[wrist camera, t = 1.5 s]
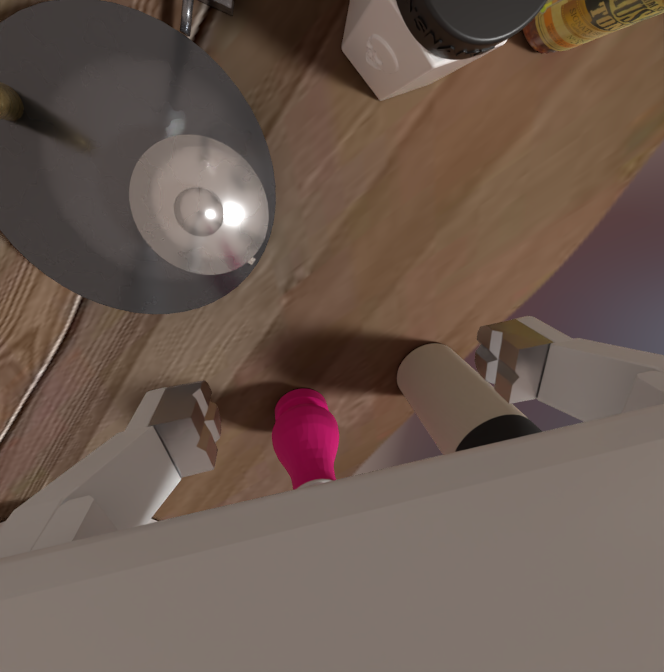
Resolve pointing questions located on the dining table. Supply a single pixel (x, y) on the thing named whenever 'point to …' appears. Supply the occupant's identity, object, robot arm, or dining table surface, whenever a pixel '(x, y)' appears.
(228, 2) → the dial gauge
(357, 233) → the dining table surface
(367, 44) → the jar
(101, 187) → the turntable
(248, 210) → the cover
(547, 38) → the sauce bottle
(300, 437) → the pepper mill
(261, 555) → the robot arm
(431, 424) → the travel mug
